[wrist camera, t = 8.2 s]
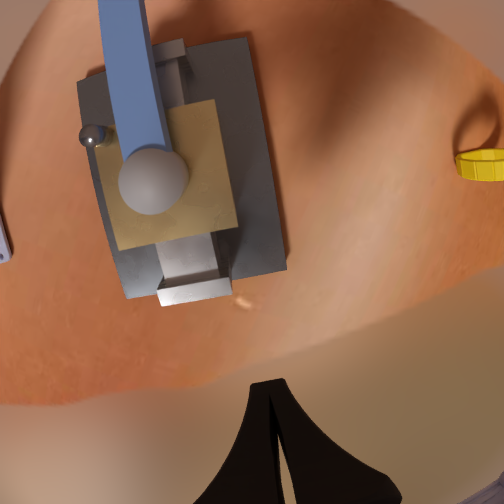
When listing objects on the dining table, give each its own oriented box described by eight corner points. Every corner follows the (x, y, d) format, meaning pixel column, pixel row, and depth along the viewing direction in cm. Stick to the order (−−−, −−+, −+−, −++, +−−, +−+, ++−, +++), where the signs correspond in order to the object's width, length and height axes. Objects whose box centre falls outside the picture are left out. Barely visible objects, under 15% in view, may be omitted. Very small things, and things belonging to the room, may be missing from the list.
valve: (130, 292, 21) (96, 351, 14) (82, 84, 16) (24, 62, 10) (284, 264, 21) (309, 317, 15) (245, 42, 17) (255, -9, 10)
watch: (485, 138, 20) (538, 142, 14) (490, 170, 21) (541, 179, 15) (441, 148, 19) (499, 153, 14) (446, 184, 20) (503, 196, 15)
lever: (194, 198, 14) (189, 205, 12) (140, 211, 14) (127, 221, 12) (152, -10, 10) (143, -28, 8) (102, 8, 10) (87, -8, 8)
